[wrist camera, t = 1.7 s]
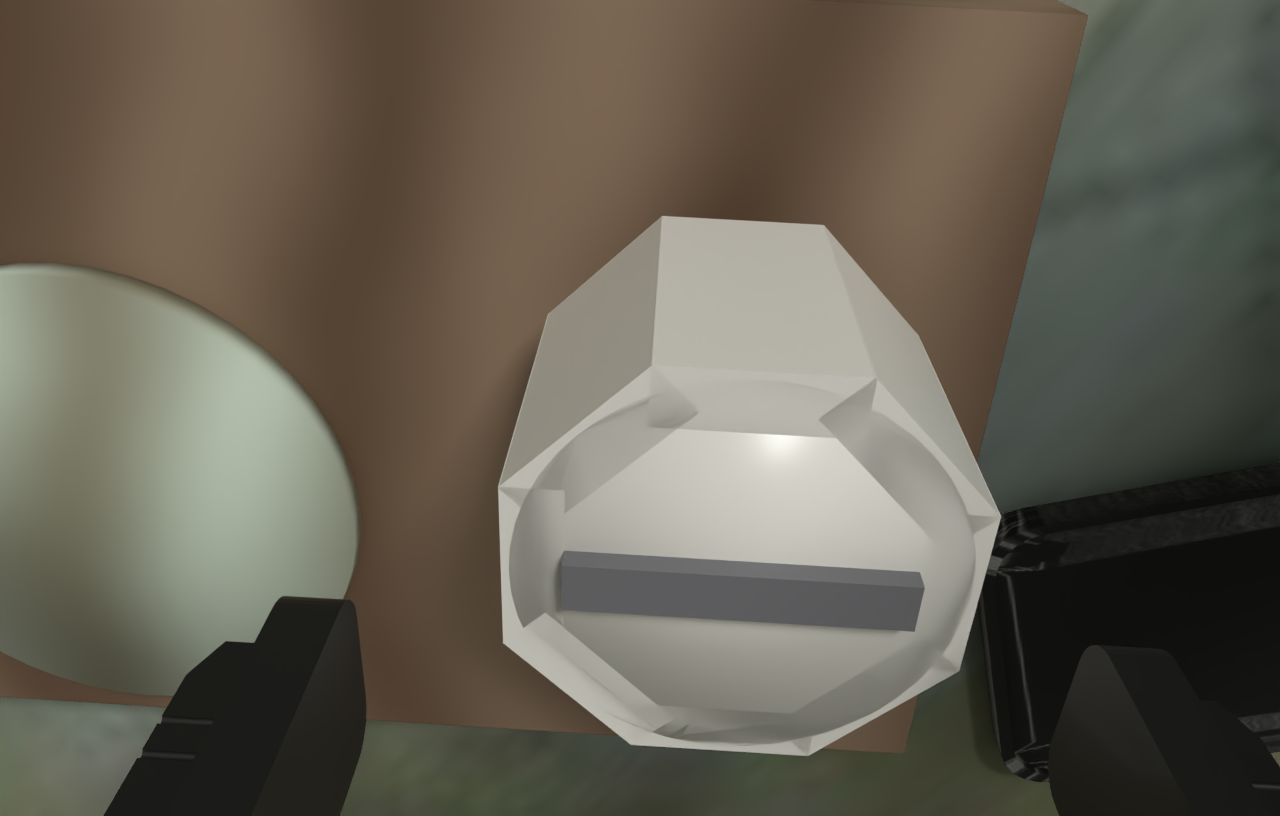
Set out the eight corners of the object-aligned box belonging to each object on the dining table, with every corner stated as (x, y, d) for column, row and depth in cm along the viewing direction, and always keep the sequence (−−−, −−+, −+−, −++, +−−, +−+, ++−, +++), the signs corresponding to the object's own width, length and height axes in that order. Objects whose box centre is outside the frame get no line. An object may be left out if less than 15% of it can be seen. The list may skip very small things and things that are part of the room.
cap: (939, 231, 15) (1045, 400, 11) (876, 544, 18) (938, 781, 14) (547, 209, 16) (488, 368, 11) (548, 525, 19) (502, 753, 14)
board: (1057, 0, 17) (1270, 99, 10) (892, 704, 25) (960, 992, 18) (-326, -73, 17) (-895, -18, 11) (-45, 646, 25) (-283, 910, 19)
